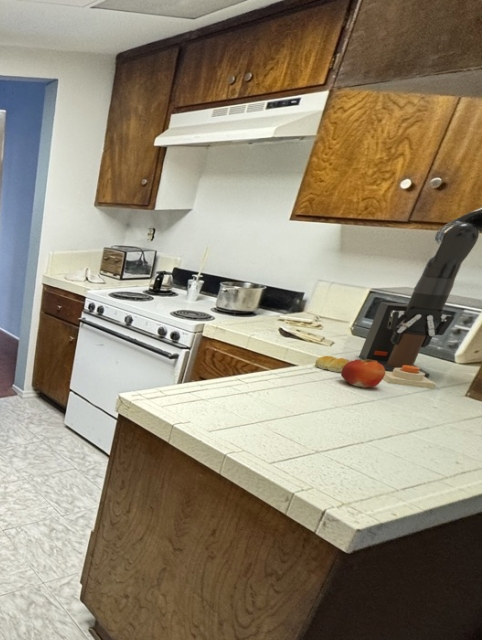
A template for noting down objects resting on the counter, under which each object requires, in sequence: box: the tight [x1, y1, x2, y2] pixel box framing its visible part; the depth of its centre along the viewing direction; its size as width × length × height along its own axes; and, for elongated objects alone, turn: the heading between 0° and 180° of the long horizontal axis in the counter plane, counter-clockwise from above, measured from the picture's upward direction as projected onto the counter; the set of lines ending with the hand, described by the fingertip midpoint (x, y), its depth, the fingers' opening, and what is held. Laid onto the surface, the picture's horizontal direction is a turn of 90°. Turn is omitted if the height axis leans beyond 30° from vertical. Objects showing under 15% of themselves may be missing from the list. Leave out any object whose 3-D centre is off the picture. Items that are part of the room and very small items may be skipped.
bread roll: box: [314, 355, 350, 373], centre depth 153 cm, size 8×9×4 cm
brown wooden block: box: [387, 330, 427, 368], centre depth 149 cm, size 8×6×12 cm
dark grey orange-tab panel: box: [358, 301, 430, 379], centre depth 151 cm, size 17×12×20 cm
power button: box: [401, 365, 421, 374], centre depth 141 cm, size 4×4×2 cm
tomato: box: [340, 358, 385, 389], centre depth 138 cm, size 9×9×8 cm
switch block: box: [382, 368, 436, 390], centre depth 142 cm, size 10×8×4 cm
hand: (408, 345), depth 148 cm, fingers closed on brown wooden block, 6 cm apart
